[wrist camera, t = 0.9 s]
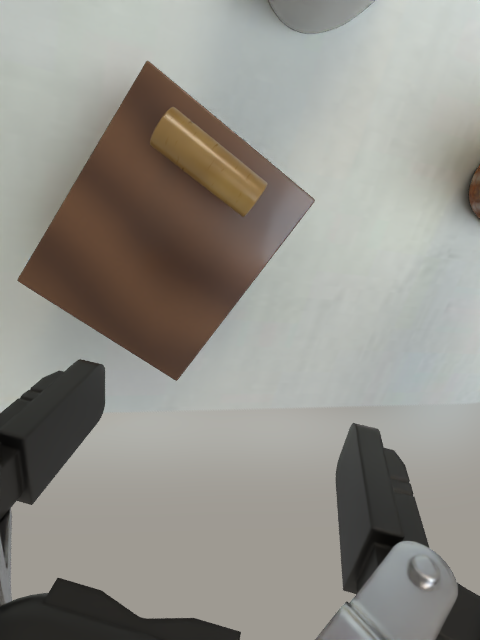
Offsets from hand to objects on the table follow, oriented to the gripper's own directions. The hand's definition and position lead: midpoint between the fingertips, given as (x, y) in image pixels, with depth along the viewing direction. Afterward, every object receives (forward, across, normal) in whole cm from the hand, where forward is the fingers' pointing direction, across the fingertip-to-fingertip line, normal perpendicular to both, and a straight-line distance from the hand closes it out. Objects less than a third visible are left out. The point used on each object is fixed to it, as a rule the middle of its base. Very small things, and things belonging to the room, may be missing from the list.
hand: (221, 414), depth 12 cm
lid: (+13, -7, +2) cm, 14 cm away
